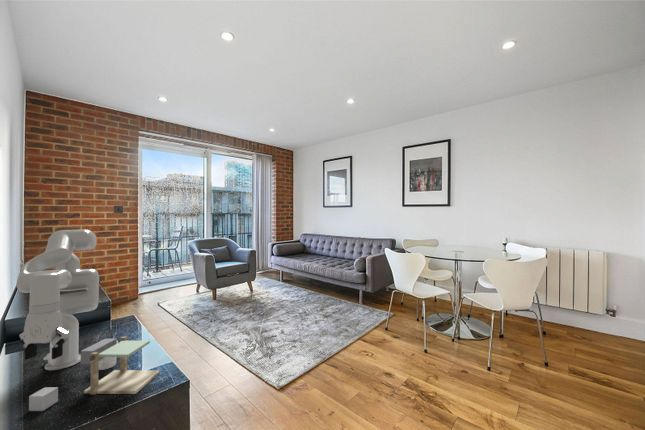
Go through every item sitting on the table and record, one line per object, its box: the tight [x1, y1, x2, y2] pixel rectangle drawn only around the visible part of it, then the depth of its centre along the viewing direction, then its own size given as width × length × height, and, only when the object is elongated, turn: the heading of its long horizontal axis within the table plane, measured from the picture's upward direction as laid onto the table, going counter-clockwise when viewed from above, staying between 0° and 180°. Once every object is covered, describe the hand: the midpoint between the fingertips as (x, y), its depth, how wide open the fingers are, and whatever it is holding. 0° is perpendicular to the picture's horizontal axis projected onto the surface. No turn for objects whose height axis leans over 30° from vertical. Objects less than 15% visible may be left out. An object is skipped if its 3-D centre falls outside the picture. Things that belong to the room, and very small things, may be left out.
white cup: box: [99, 340, 119, 371], centre depth 120 cm, size 8×8×10 cm
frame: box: [83, 336, 161, 395], centre depth 107 cm, size 20×17×15 cm
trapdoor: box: [80, 338, 151, 365], centre depth 108 cm, size 19×12×5 cm, turn 87°
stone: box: [28, 386, 59, 412], centre depth 94 cm, size 5×5×5 cm
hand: (44, 357), depth 94 cm, fingers open, 9 cm apart
